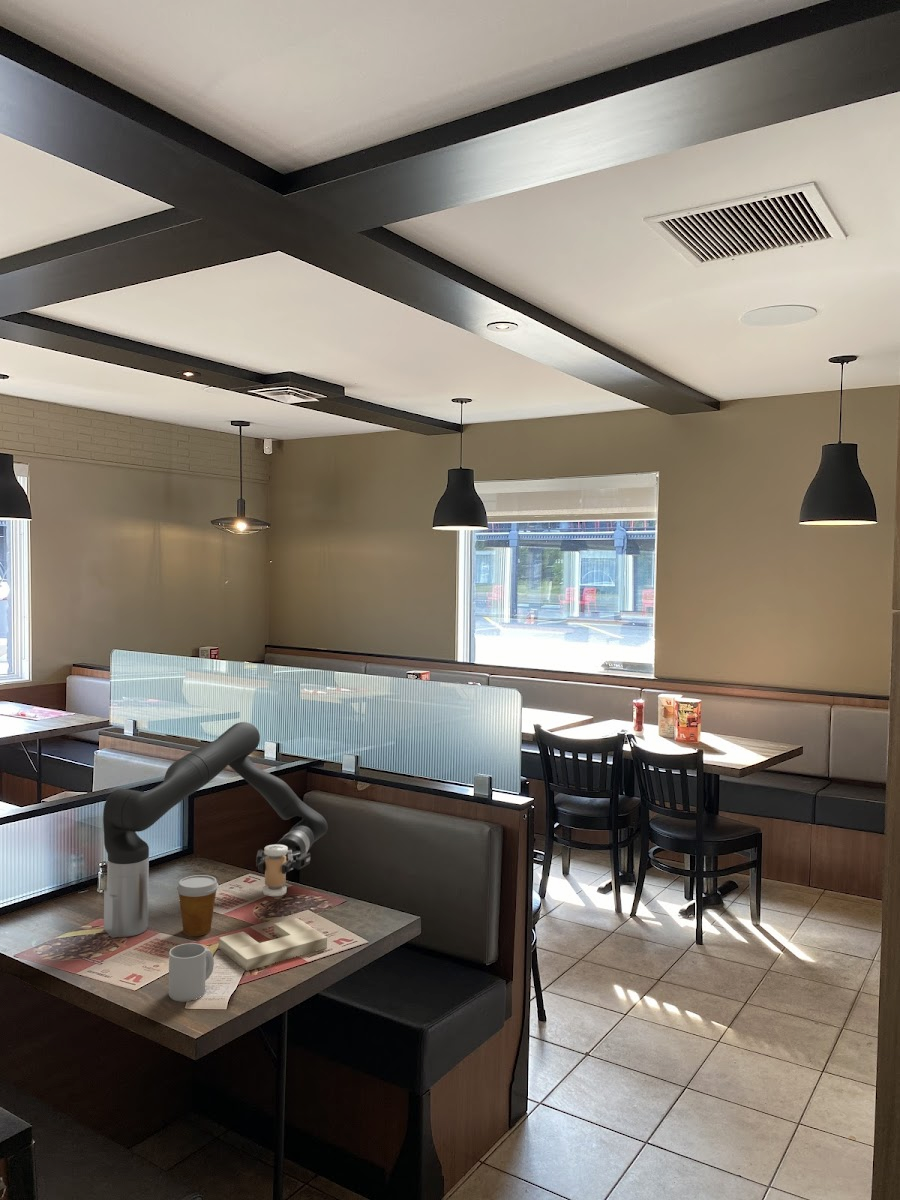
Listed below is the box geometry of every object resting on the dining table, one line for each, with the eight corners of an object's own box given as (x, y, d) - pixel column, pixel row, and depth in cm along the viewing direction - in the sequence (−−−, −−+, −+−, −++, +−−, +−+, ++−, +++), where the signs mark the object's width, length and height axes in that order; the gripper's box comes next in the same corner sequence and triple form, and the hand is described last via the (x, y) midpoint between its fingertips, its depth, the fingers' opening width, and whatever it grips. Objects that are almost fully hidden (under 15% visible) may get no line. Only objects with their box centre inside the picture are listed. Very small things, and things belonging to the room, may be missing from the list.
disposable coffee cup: (226, 927, 217) (226, 878, 217) (199, 942, 209) (200, 891, 208) (194, 920, 221) (195, 871, 221) (167, 934, 213) (168, 883, 212)
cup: (161, 994, 183) (161, 951, 183) (201, 977, 191) (202, 936, 191) (183, 1006, 179) (183, 961, 178) (223, 988, 187) (224, 945, 186)
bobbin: (269, 898, 218) (271, 852, 217) (259, 891, 222) (260, 846, 222) (290, 893, 221) (291, 848, 221) (279, 886, 226) (280, 843, 225)
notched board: (246, 970, 195) (246, 959, 195) (218, 948, 206) (218, 937, 205) (326, 948, 207) (327, 937, 207) (296, 927, 218) (296, 917, 218)
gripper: (265, 832, 236) (244, 851, 219) (319, 835, 235) (301, 855, 218) (265, 860, 237) (243, 882, 220) (318, 864, 235) (300, 886, 218)
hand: (272, 869), depth 219 cm, fingers closed on bobbin, 5 cm apart
